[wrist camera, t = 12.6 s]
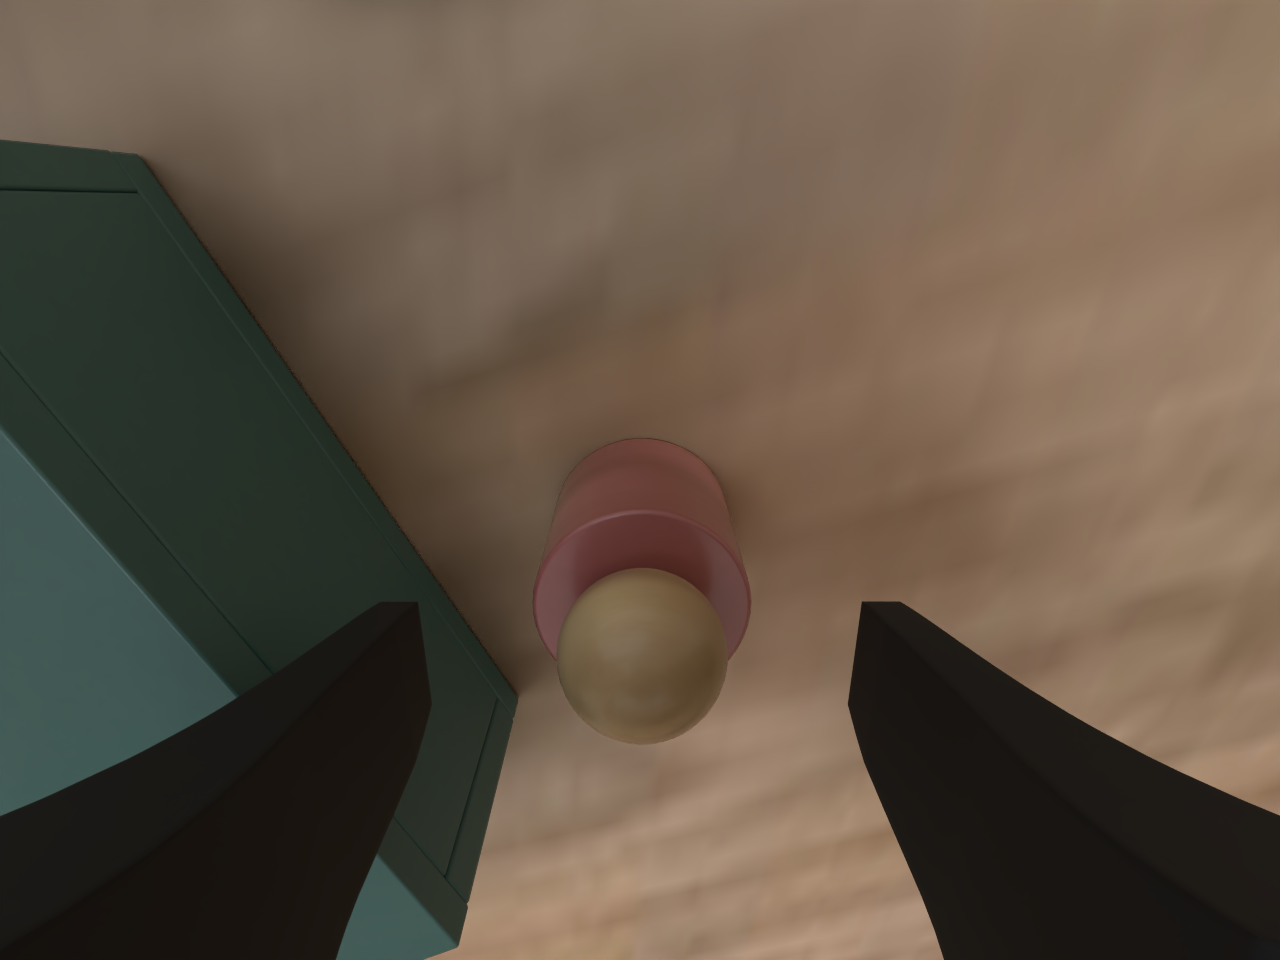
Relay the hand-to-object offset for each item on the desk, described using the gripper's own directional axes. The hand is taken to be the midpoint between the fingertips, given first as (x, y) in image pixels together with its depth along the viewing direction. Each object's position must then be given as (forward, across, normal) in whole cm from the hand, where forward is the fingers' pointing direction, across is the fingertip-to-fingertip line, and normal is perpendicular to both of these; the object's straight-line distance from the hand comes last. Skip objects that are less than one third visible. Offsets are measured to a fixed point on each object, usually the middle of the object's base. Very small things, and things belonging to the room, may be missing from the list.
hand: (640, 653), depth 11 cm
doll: (+5, 0, 0) cm, 5 cm away
